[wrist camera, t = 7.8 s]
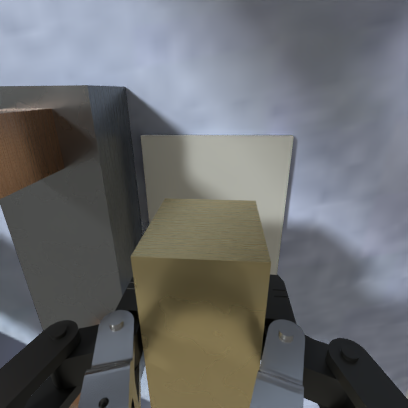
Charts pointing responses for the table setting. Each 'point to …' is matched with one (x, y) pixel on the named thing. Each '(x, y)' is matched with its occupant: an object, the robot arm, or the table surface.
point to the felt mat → (222, 174)
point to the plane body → (70, 197)
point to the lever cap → (202, 302)
